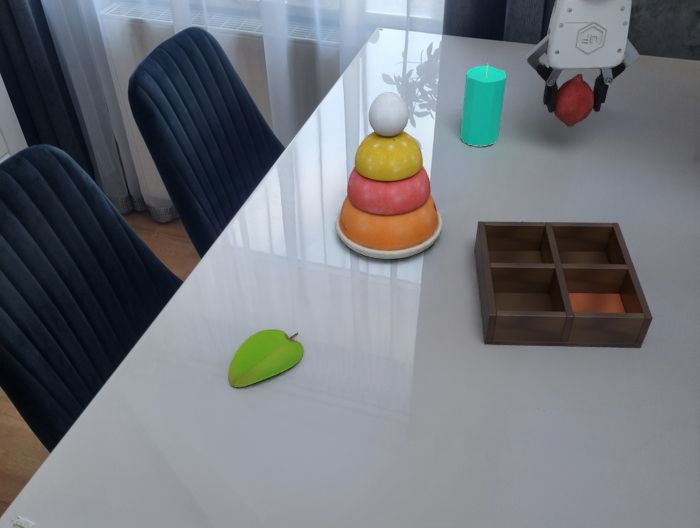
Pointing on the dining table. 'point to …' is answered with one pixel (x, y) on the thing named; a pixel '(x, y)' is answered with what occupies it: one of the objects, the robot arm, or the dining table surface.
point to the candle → (482, 105)
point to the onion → (574, 101)
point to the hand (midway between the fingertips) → (572, 106)
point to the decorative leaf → (264, 357)
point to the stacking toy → (388, 189)
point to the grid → (558, 285)
